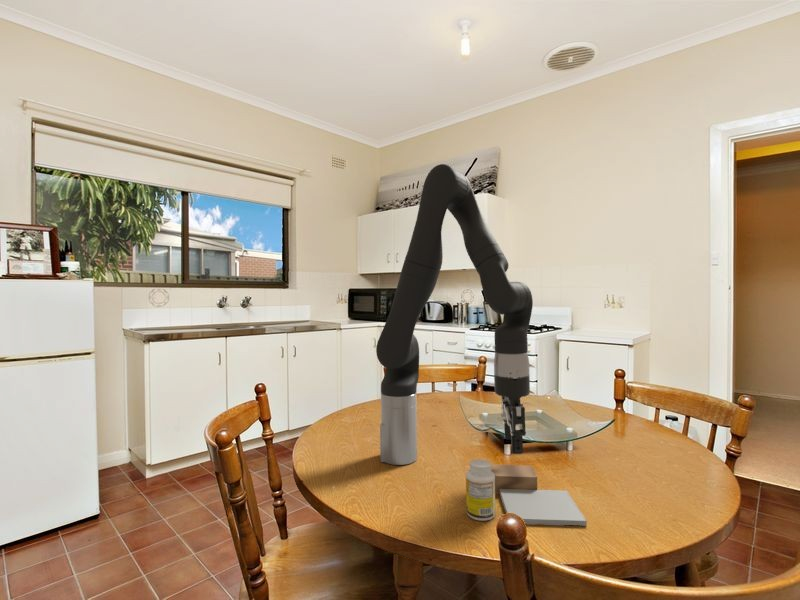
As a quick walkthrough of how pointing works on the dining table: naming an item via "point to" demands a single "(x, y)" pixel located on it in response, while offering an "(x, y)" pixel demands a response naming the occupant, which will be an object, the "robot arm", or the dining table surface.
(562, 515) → the slate board
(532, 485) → the walnut block
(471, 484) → the supplement bottle
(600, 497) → the dining table surface
